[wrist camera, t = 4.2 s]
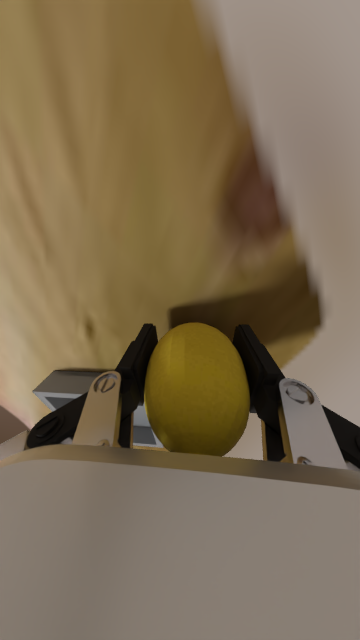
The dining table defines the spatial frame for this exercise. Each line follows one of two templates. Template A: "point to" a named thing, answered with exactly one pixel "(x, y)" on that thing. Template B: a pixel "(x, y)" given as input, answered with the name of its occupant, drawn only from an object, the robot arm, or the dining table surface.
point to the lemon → (196, 391)
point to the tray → (74, 384)
